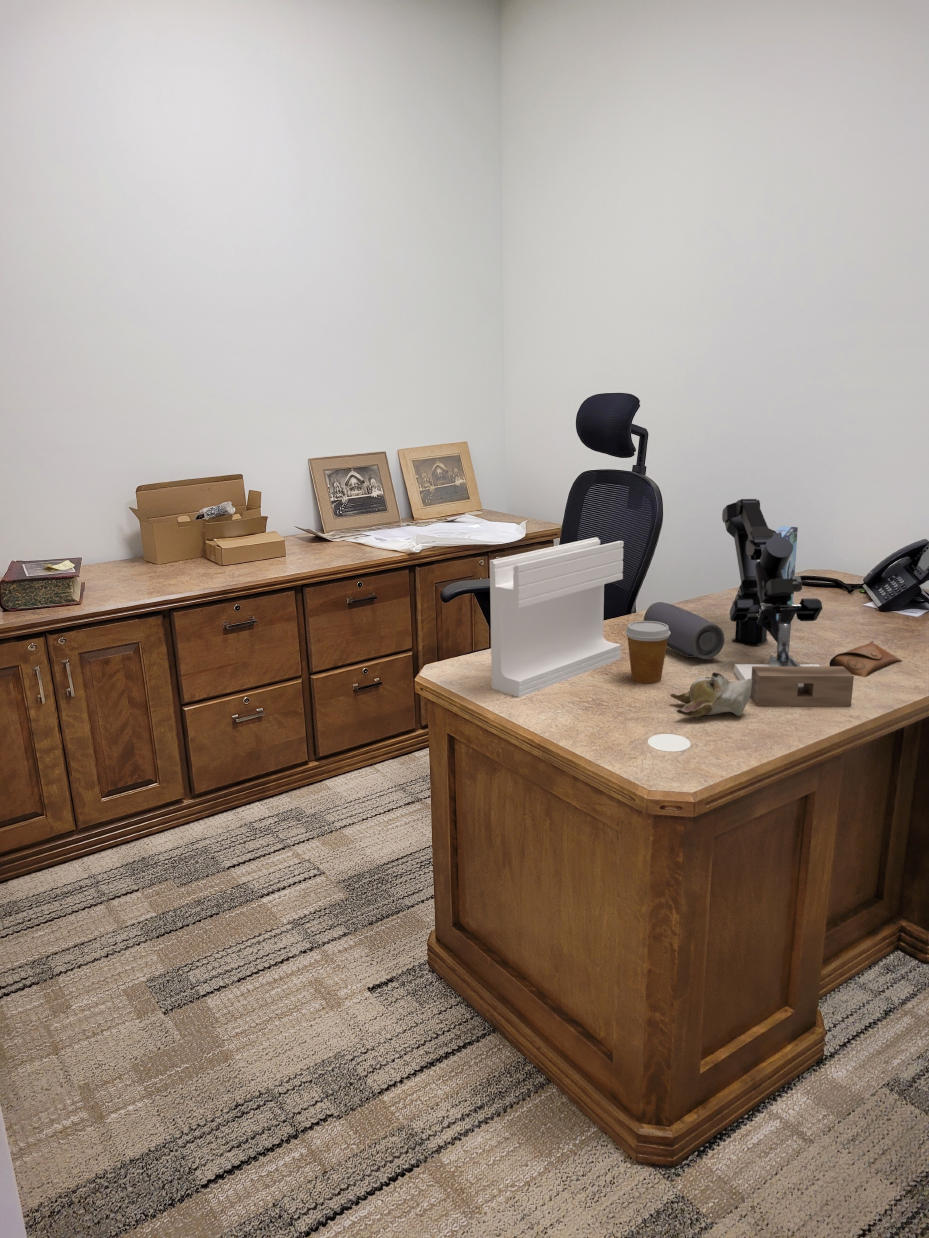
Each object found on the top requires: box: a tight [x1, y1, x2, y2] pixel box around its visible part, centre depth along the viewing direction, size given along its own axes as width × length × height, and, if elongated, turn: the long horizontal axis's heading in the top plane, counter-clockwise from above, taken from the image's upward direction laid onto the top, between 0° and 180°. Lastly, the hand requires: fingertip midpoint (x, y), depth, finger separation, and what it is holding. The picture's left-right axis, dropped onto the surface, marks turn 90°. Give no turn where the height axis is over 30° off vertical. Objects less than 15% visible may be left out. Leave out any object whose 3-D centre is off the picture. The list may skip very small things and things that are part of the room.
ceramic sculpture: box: [669, 672, 752, 718], centre depth 169 cm, size 11×9×15 cm
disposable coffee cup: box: [625, 620, 670, 684], centre depth 189 cm, size 10×10×12 cm
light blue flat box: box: [775, 526, 799, 620], centre depth 236 cm, size 20×5×23 cm, turn 152°
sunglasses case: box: [829, 640, 903, 678], centre depth 196 cm, size 18×7×7 cm
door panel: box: [733, 654, 821, 687], centre depth 186 cm, size 11×18×5 cm, turn 86°
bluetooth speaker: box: [643, 601, 726, 660], centre depth 208 cm, size 23×9×10 cm, turn 18°
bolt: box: [776, 622, 793, 666], centre depth 184 cm, size 8×2×10 cm, turn 176°
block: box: [489, 537, 625, 698], centre depth 192 cm, size 35×8×28 cm, turn 134°
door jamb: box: [750, 665, 855, 707], centre depth 175 cm, size 6×18×6 cm, turn 86°
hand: (780, 643), depth 188 cm, fingers closed
